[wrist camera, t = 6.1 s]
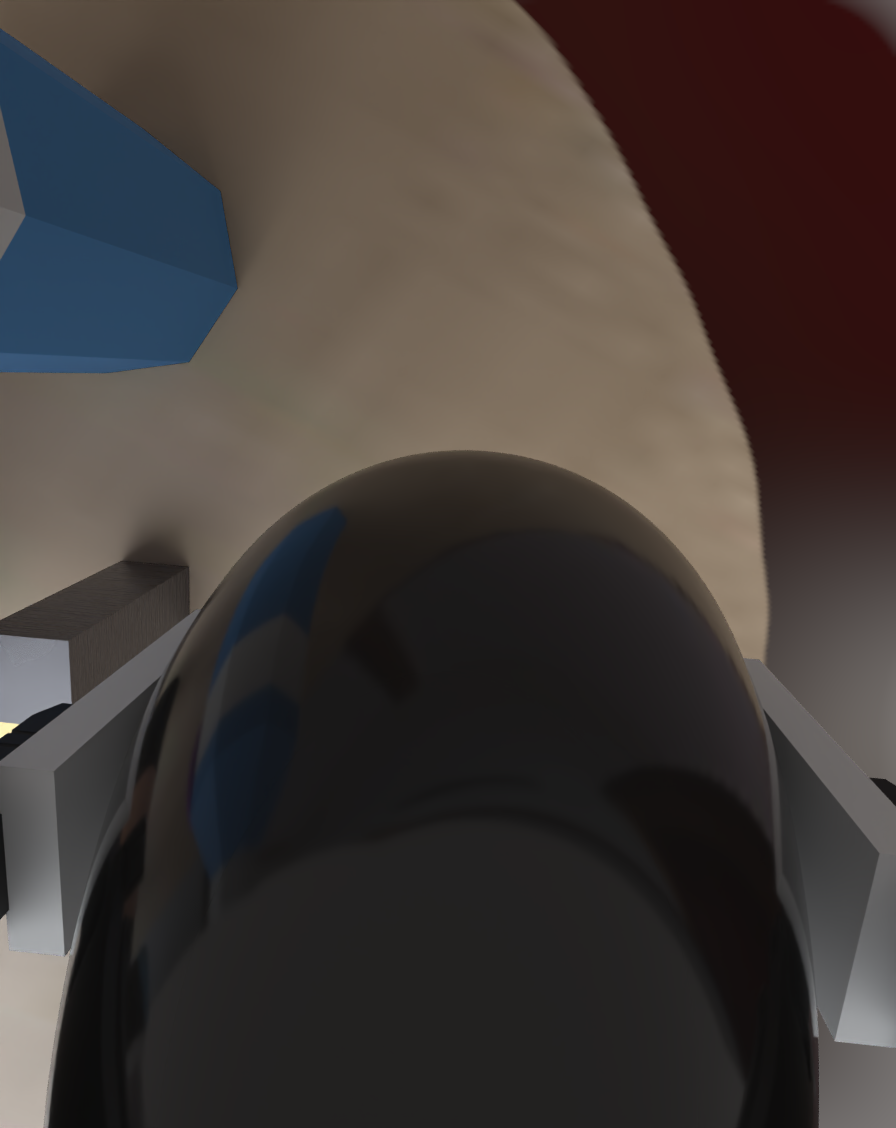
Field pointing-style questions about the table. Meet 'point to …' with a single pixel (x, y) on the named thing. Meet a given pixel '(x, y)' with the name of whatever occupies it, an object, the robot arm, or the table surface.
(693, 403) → the table surface
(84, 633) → the latch post
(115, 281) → the water bottle
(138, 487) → the table surface
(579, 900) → the pump dispenser
